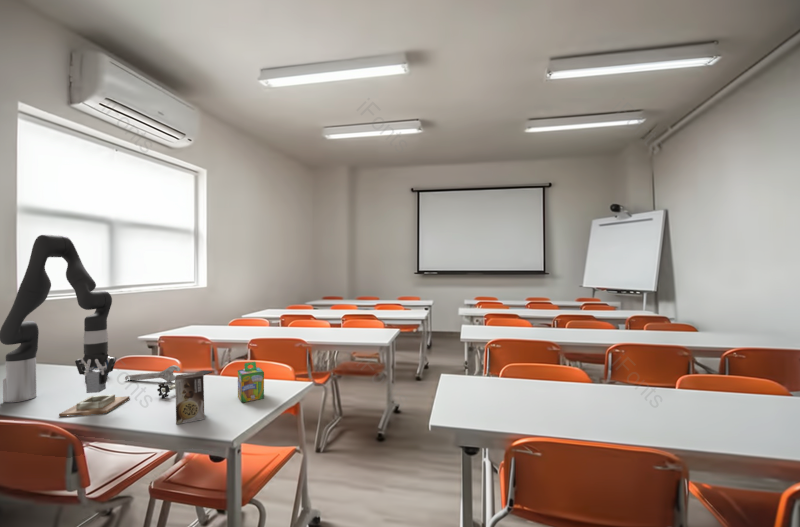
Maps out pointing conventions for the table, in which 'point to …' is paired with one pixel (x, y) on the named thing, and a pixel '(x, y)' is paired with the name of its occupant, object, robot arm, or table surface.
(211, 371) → the phone
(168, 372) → the wrench
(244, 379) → the chalk box
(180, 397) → the printed cardboard box
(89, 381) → the block
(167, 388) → the valve
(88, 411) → the collar base
